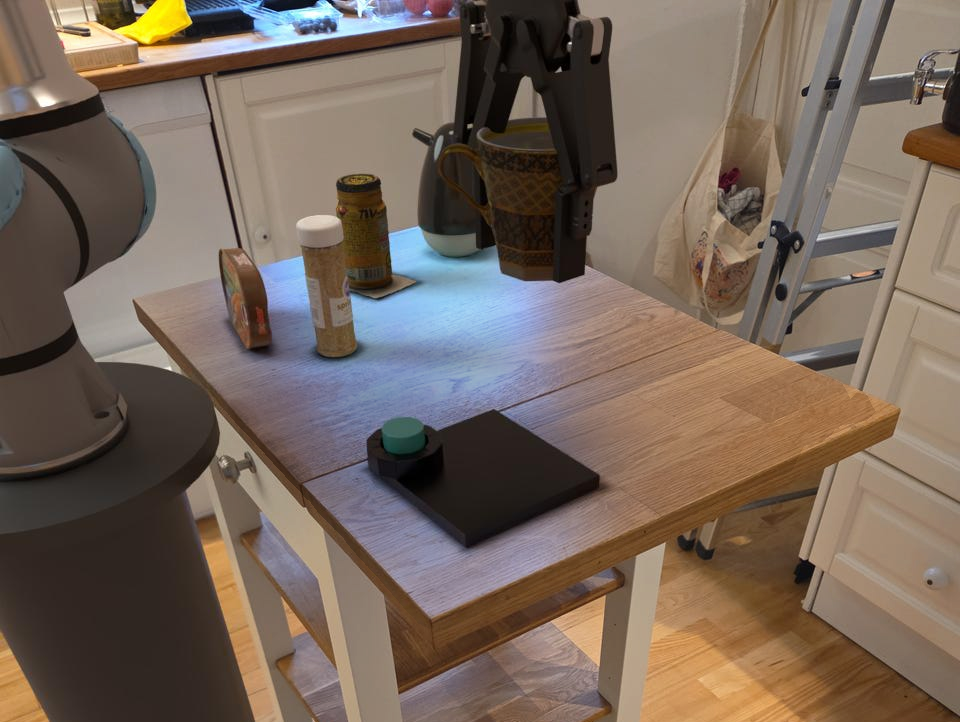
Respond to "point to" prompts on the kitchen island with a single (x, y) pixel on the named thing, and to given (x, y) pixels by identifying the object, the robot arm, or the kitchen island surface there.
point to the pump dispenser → (445, 197)
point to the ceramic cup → (517, 193)
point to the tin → (245, 297)
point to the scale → (481, 475)
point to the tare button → (403, 435)
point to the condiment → (366, 236)
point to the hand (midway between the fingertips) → (528, 260)
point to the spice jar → (327, 284)
